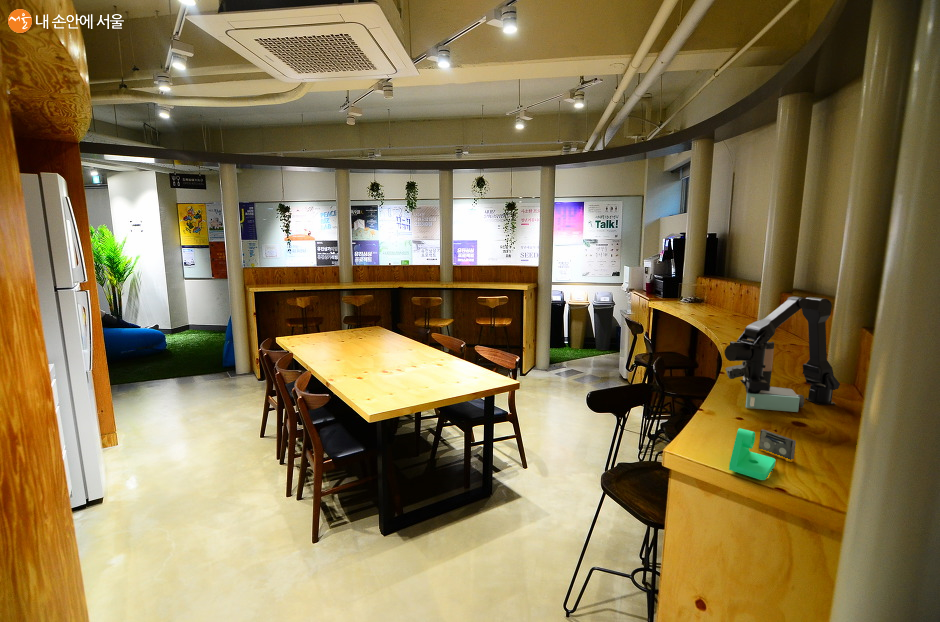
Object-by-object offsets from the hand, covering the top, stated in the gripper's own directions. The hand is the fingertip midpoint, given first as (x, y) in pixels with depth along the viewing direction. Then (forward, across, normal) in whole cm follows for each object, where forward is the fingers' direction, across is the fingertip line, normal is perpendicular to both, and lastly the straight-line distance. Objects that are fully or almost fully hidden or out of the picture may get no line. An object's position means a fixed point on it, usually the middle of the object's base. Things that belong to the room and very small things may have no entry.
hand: (749, 401), depth 158 cm
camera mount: (+2, +54, -12) cm, 55 cm away
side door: (+1, +3, +6) cm, 7 cm away
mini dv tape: (+2, +42, -4) cm, 42 cm away
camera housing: (+2, -4, +10) cm, 11 cm away
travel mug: (+2, -24, +9) cm, 26 cm away
